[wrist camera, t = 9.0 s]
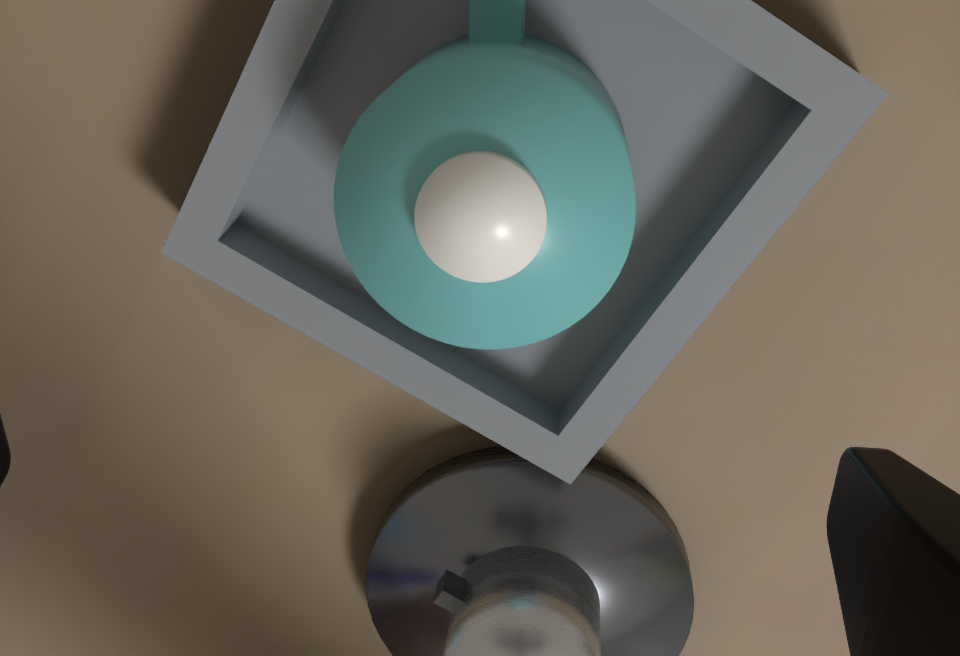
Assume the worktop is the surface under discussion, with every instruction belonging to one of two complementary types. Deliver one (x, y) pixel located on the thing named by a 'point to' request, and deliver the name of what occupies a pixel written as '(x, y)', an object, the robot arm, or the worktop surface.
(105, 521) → the worktop surface
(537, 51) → the teal rounded toy
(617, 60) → the tray
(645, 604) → the round metal saucer
